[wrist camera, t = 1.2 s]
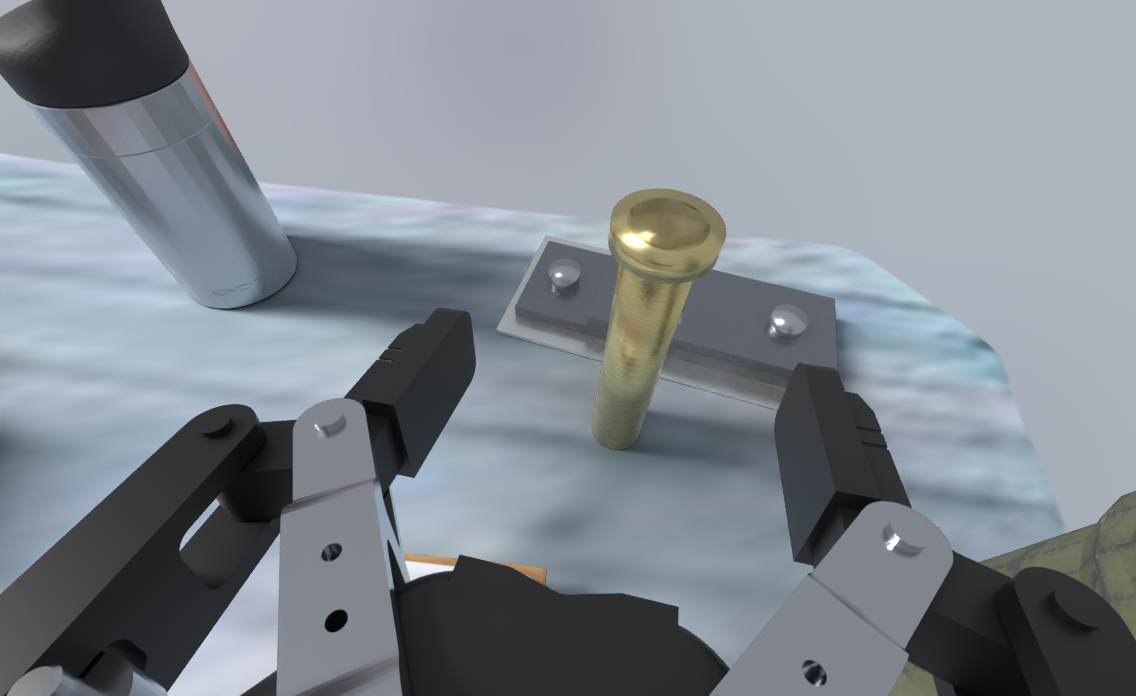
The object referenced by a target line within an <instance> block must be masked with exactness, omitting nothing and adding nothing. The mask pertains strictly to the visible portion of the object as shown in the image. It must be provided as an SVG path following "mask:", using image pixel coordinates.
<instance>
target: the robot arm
mask: <svg viewBox="0 0 1136 696" xmlns="http://www.w3.org/2000/svg"><path fill="white" fill-rule="evenodd" d="M0 74H1V76H2V77H3V78H4V79H5V80H6V81H7V83H8V84H9V85H10V86H11V87H12V88H13V89H14V91H15V92H16V93H17V94H18V95H19V96H20V97H21V98H22V100H23V101H24V102H25V103H26V104H27V105H28V107H29V108H30V109H31V110H32V111H33V112H34V114H35V115H36V116H37V117H38V118H39V119H40V121H41V122H42V123H43V124H44V125H45V126H46V128H47V129H48V130H49V131H50V132H51V133H52V135H53V136H54V137H55V138H56V139H57V140H58V142H59V143H60V144H61V145H62V146H63V147H64V148H65V150H66V151H67V152H68V153H69V154H70V155H71V156H72V158H73V159H74V160H75V161H76V162H77V164H78V165H79V166H80V167H81V168H82V169H83V171H84V172H85V173H86V174H87V175H88V177H89V178H90V179H91V180H92V181H93V182H94V184H95V185H96V186H97V187H98V188H99V189H100V191H101V192H102V193H103V194H104V195H105V196H106V198H107V199H108V200H109V201H110V202H111V204H112V205H113V206H114V207H115V208H116V209H117V211H118V212H119V213H120V214H121V215H122V216H123V218H124V219H125V220H126V221H127V222H128V223H129V225H130V226H131V227H132V228H133V229H134V231H135V232H136V233H137V234H138V235H139V236H140V238H141V239H142V240H143V241H144V242H145V243H146V245H147V246H148V247H149V248H150V249H151V250H152V252H153V253H154V254H155V255H156V256H157V258H158V259H159V260H160V261H161V262H162V264H163V265H164V266H165V267H166V268H167V270H168V271H169V272H170V273H171V274H172V275H173V277H174V278H175V279H176V280H177V281H178V282H179V284H180V285H181V286H182V287H183V288H184V289H185V291H186V292H187V293H188V294H189V295H190V296H191V298H193V299H194V300H195V301H196V302H198V303H200V304H202V305H205V306H208V307H213V308H235V307H241V306H245V305H249V304H253V303H255V302H258V301H260V300H263V299H265V298H267V297H269V296H270V295H272V294H274V293H275V292H277V291H278V290H279V289H281V288H282V287H283V286H284V285H285V284H286V283H287V282H288V281H289V280H290V279H291V277H292V276H293V274H294V272H295V270H296V266H297V256H296V254H295V251H294V250H293V248H292V246H291V244H290V242H289V240H288V239H287V237H286V235H285V233H284V231H283V229H282V228H281V226H280V224H279V222H278V220H277V218H276V216H275V214H274V212H273V211H272V209H271V207H270V205H269V203H268V201H267V200H266V198H265V196H264V194H263V192H262V190H261V189H260V187H259V185H258V183H257V181H256V179H255V178H254V176H253V174H252V172H251V170H250V168H249V167H248V165H247V163H246V161H245V159H244V158H243V156H242V154H241V152H240V150H239V148H238V146H237V145H236V143H235V141H234V139H233V137H232V136H231V134H230V132H229V130H228V128H227V126H226V124H225V123H224V121H223V119H222V117H221V115H220V113H219V112H218V110H217V108H216V106H215V104H214V103H213V101H212V99H211V97H210V96H209V94H208V92H207V90H206V88H205V86H204V85H203V83H202V81H201V79H200V77H199V76H198V73H197V72H196V70H195V68H194V66H193V64H192V62H191V61H190V59H189V57H188V55H187V53H186V51H185V49H184V47H183V45H182V44H181V42H180V40H179V38H178V36H177V34H176V32H175V30H174V28H173V26H172V24H171V22H170V20H169V17H168V15H167V13H166V11H165V9H164V6H163V4H162V2H161V0H32V1H29V2H27V3H25V4H23V5H21V6H19V7H17V8H15V9H14V10H12V11H10V12H8V13H6V14H5V15H3V16H2V17H0ZM475 366H476V357H475V348H474V340H473V332H472V324H471V318H470V315H469V313H468V312H465V311H459V310H452V309H445V308H438V309H436V310H435V311H434V313H433V314H432V315H431V316H430V317H429V319H428V320H427V321H426V322H425V323H424V325H423V324H415V325H414V326H412V327H410V328H409V329H407V330H405V331H403V332H402V333H400V334H399V335H398V336H397V337H396V338H395V340H394V341H393V342H392V343H391V344H390V345H389V346H388V350H387V349H386V350H385V351H384V352H383V353H382V354H381V356H380V357H379V360H376V361H375V362H374V364H373V365H372V366H371V367H370V368H369V369H368V370H367V372H366V373H365V374H364V375H363V376H362V377H361V378H360V380H359V381H358V382H357V383H356V384H355V385H354V386H353V388H352V389H351V390H350V391H349V392H348V393H347V394H346V396H345V397H344V398H338V399H331V400H327V401H323V402H321V403H318V404H316V405H314V406H312V407H311V408H309V409H308V410H306V411H305V412H304V413H303V414H301V416H300V417H299V418H298V419H297V420H287V421H273V422H260V421H259V419H258V417H257V416H256V414H255V412H254V411H253V409H251V408H250V407H248V406H245V405H240V404H230V405H223V406H219V407H216V408H213V409H210V410H208V411H205V412H203V413H201V414H200V415H198V416H196V417H195V418H193V419H192V420H190V421H189V422H188V423H187V424H186V425H185V426H184V427H182V428H181V429H180V430H179V431H178V432H177V433H176V434H175V435H174V436H173V437H172V438H170V439H169V440H168V441H167V442H166V443H165V444H164V445H163V446H162V447H161V448H160V449H158V450H157V451H156V452H155V453H154V454H153V455H152V456H151V457H150V458H149V459H148V460H146V461H145V462H144V463H143V464H142V465H141V466H140V467H139V468H138V469H137V470H136V471H134V472H133V473H132V474H131V475H130V476H129V477H128V478H127V479H126V480H125V481H124V482H122V483H121V484H120V485H119V486H118V487H117V488H116V489H115V490H114V491H113V492H112V493H110V494H109V495H108V496H107V497H106V498H105V499H104V500H103V501H102V502H101V503H100V504H98V505H97V506H96V507H95V508H94V509H93V510H92V511H91V512H90V513H89V514H88V515H86V516H85V517H84V518H83V519H82V520H81V521H80V522H79V523H78V524H77V525H76V526H74V527H73V528H72V529H71V530H70V531H69V532H68V533H67V534H66V535H65V536H64V537H62V538H61V539H60V540H59V541H58V542H57V543H56V544H55V545H54V546H53V547H52V548H50V549H49V550H48V551H47V552H46V553H45V554H44V555H43V556H42V557H41V558H40V559H38V560H37V561H36V562H35V563H34V564H33V565H32V566H31V567H30V568H29V569H28V570H26V571H25V572H24V573H23V574H22V575H21V576H20V577H19V578H18V579H17V580H16V581H14V582H13V583H12V584H11V585H10V586H9V587H8V588H7V589H6V590H5V591H4V592H2V593H1V594H0V696H168V695H167V692H168V691H169V689H170V688H171V686H172V685H173V684H174V682H175V681H176V679H177V678H178V676H179V675H180V674H181V672H182V671H183V669H184V668H185V667H186V665H187V664H188V662H189V661H190V659H191V658H192V657H193V655H194V654H195V652H196V651H197V650H198V648H199V647H200V645H201V644H202V642H203V641H204V640H205V638H206V637H207V635H208V634H209V632H210V631H211V630H212V628H213V627H214V625H215V624H216V623H217V621H218V620H219V618H220V617H221V615H222V614H223V613H224V611H225V610H226V608H227V607H228V606H229V604H230V603H231V601H232V600H233V598H234V597H235V596H236V594H237V593H238V591H239V590H240V589H241V587H242V586H243V584H244V583H245V581H246V580H247V579H248V577H249V576H250V574H251V573H252V572H253V570H254V569H255V567H256V566H257V564H258V563H259V562H260V560H261V559H262V557H263V556H264V555H265V553H266V552H267V550H268V549H269V547H270V546H271V545H272V543H273V542H274V540H275V539H276V537H277V536H278V535H279V533H280V567H279V609H278V652H277V670H276V671H275V672H274V673H272V674H271V675H269V676H268V677H266V678H265V679H263V680H262V681H261V682H259V683H258V684H256V685H255V686H253V687H252V688H251V689H249V690H248V691H246V692H245V693H243V694H242V695H240V696H888V695H889V693H890V691H891V690H892V688H893V686H894V684H895V682H896V681H897V679H898V677H899V675H900V673H901V672H902V670H903V668H904V666H905V664H906V662H907V661H909V662H911V663H912V664H914V665H916V666H918V667H920V668H922V669H923V670H925V671H927V672H929V673H931V674H932V675H933V679H934V683H935V686H936V690H937V694H938V696H1136V640H1135V638H1134V637H1133V635H1132V633H1131V632H1130V630H1129V628H1128V627H1127V625H1126V624H1125V622H1124V621H1123V619H1122V618H1121V616H1120V615H1119V614H1118V613H1117V612H1116V611H1115V609H1114V608H1113V607H1112V606H1111V605H1110V604H1109V603H1108V602H1107V601H1106V600H1104V599H1103V598H1102V597H1101V596H1100V595H1098V594H1097V593H1096V592H1095V591H1093V590H1092V589H1090V588H1089V587H1088V586H1086V585H1084V584H1083V583H1081V582H1080V581H1078V580H1076V579H1074V578H1072V577H1070V576H1068V575H1066V574H1064V573H1061V572H1059V571H1056V570H1052V569H1049V568H1044V567H1028V568H1025V569H1022V570H1021V571H1020V572H1018V573H1017V574H1016V575H1015V576H1014V577H1012V578H1011V577H1009V576H1007V575H1005V574H1002V573H1000V572H998V571H996V570H993V569H991V568H989V567H987V566H984V565H982V564H980V563H978V562H975V561H973V560H971V559H969V558H966V557H964V556H962V555H960V554H958V553H956V552H955V551H953V550H952V549H951V546H950V544H949V542H948V540H947V539H946V537H945V536H944V534H943V533H942V532H941V530H940V529H939V528H938V527H937V526H936V525H935V524H934V523H932V522H931V521H930V520H929V519H928V518H926V517H925V516H923V515H922V514H920V513H919V512H917V511H915V510H913V509H912V508H911V505H910V503H909V500H908V497H907V495H906V492H905V490H904V487H903V485H902V482H901V480H900V477H899V475H898V472H897V469H896V467H895V464H894V462H893V459H892V457H891V454H890V452H889V450H887V444H886V441H885V439H884V436H883V434H881V429H880V426H879V424H878V421H877V419H876V416H875V413H874V411H873V410H872V409H871V408H870V407H869V406H868V405H867V404H866V403H865V402H864V401H863V399H862V398H861V397H860V396H859V395H858V394H855V393H849V392H845V391H844V388H843V386H842V383H841V380H840V377H839V374H838V371H837V370H836V369H835V368H832V367H826V366H819V365H812V364H806V363H798V364H797V366H796V367H795V369H794V371H793V374H792V376H791V379H790V381H789V384H788V386H787V389H786V391H785V393H784V396H783V398H782V401H781V403H780V406H779V408H778V411H777V414H776V419H775V428H774V434H775V442H776V448H777V455H778V461H779V468H780V474H781V481H782V487H783V494H784V501H785V507H786V514H787V520H788V527H789V533H790V540H791V546H792V553H793V559H794V561H795V562H800V563H804V564H809V565H813V567H814V571H813V572H812V573H809V574H808V575H807V576H806V577H805V578H804V580H803V581H802V582H801V583H800V584H799V586H798V587H797V588H796V589H795V591H794V592H793V593H792V594H791V595H790V597H789V598H788V599H787V600H786V602H785V603H784V604H783V605H782V607H781V608H780V609H779V610H778V611H777V613H776V614H775V615H774V616H773V618H772V619H771V620H770V621H769V623H768V624H767V625H766V626H765V627H764V629H763V630H762V631H761V632H760V634H759V635H758V636H757V637H756V638H755V640H754V641H753V642H752V643H751V645H750V646H749V647H748V648H747V650H746V651H745V652H744V653H743V654H742V656H741V657H740V658H739V659H738V661H737V662H736V663H735V664H734V665H733V667H732V668H731V669H729V667H728V666H727V665H726V663H725V662H724V661H723V660H722V659H721V658H720V657H719V656H718V655H717V654H716V653H715V652H714V650H712V649H711V648H710V647H709V646H708V645H707V644H706V643H704V642H703V641H702V640H701V639H700V638H698V637H697V636H695V635H694V634H692V633H691V632H690V631H688V630H687V629H685V628H683V627H681V626H679V625H678V610H679V607H677V606H672V605H668V604H664V603H660V602H656V601H652V600H647V599H643V598H639V597H635V596H631V595H626V594H622V593H616V594H579V595H564V594H560V593H557V592H555V591H553V590H552V589H550V588H548V587H546V586H544V585H543V584H541V583H539V582H537V581H535V580H534V579H532V578H530V577H528V576H526V575H524V574H523V573H521V572H519V571H517V570H515V569H514V568H512V567H509V566H505V565H501V564H497V563H493V562H489V561H484V560H480V559H476V558H472V557H468V556H463V555H459V558H458V560H457V562H456V565H455V567H454V569H453V571H443V572H437V573H432V574H429V575H425V576H422V577H419V578H416V579H414V580H411V581H410V577H409V573H408V570H407V566H406V562H405V558H404V553H403V548H402V543H401V537H400V532H399V527H398V522H397V516H396V511H395V506H394V500H393V495H392V491H391V487H390V485H391V483H392V482H393V480H394V479H395V477H396V475H397V474H398V475H403V476H407V477H412V478H415V476H416V474H417V473H418V471H419V469H420V468H421V466H422V464H423V462H424V461H425V459H426V457H427V456H428V454H429V452H430V451H431V449H432V447H433V445H434V444H435V442H436V440H437V439H438V437H439V435H440V434H441V432H442V430H443V428H444V427H445V425H446V423H447V422H448V420H449V418H450V417H451V415H452V413H453V412H454V410H455V408H456V406H457V405H458V403H459V401H460V400H461V398H462V396H463V395H464V393H465V391H466V389H467V388H468V386H469V384H470V383H471V381H472V378H473V376H474V372H475ZM215 499H217V500H218V502H219V503H220V505H219V506H218V507H217V508H216V510H215V511H214V512H213V513H212V514H211V515H210V517H209V518H208V519H207V520H206V521H205V522H204V524H203V525H202V526H201V527H200V528H199V529H198V531H197V532H196V533H195V534H194V535H193V536H192V538H191V539H190V540H189V541H188V542H187V543H186V545H185V546H184V547H183V548H182V549H181V550H180V552H179V548H180V544H181V541H182V539H183V537H184V535H185V533H186V532H187V531H188V529H189V528H190V527H191V526H192V525H193V524H194V523H195V521H196V520H197V519H198V518H199V517H200V516H201V515H202V513H203V512H204V511H205V510H206V509H207V508H208V507H209V505H210V504H211V503H212V502H213V501H214V500H215Z"/></svg>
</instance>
